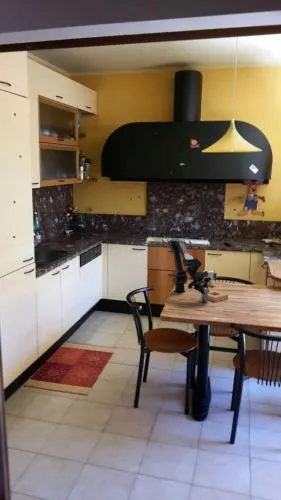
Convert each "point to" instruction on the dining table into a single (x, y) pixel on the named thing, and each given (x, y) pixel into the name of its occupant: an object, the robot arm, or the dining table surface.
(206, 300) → the cylinder
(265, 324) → the dining table surface
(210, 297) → the docking socket
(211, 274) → the pneumatic valve
